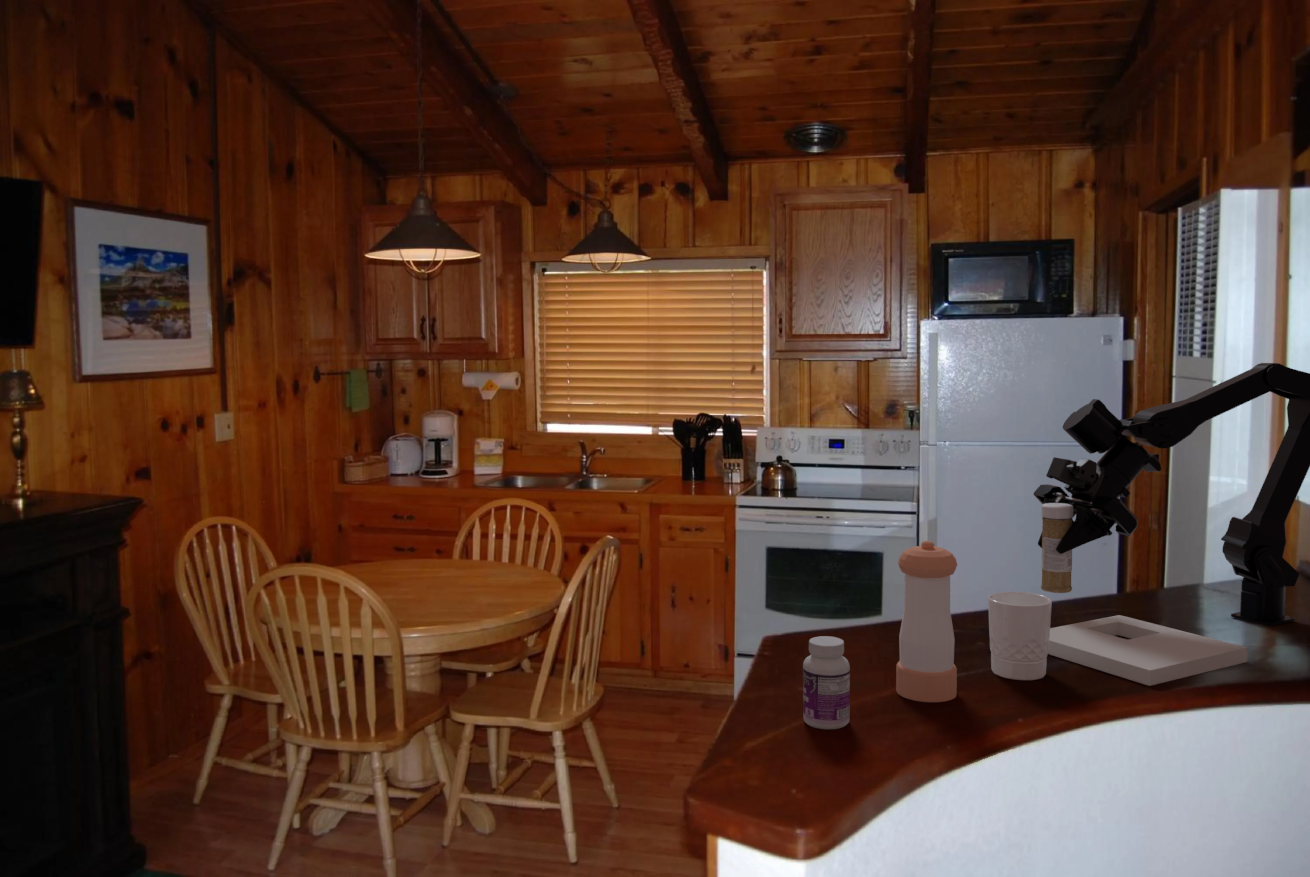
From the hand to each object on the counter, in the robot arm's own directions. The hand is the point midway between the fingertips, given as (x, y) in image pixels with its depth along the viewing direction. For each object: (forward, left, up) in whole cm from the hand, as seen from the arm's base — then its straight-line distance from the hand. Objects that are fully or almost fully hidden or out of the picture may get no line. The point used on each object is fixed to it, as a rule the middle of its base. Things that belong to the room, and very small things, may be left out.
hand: (1048, 549), depth 157 cm
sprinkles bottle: (-1, 0, -7) cm, 7 cm away
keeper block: (+2, +16, -12) cm, 20 cm away
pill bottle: (+55, +16, -12) cm, 58 cm away
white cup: (+22, +14, -12) cm, 29 cm away
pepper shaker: (+38, +14, -12) cm, 42 cm away
